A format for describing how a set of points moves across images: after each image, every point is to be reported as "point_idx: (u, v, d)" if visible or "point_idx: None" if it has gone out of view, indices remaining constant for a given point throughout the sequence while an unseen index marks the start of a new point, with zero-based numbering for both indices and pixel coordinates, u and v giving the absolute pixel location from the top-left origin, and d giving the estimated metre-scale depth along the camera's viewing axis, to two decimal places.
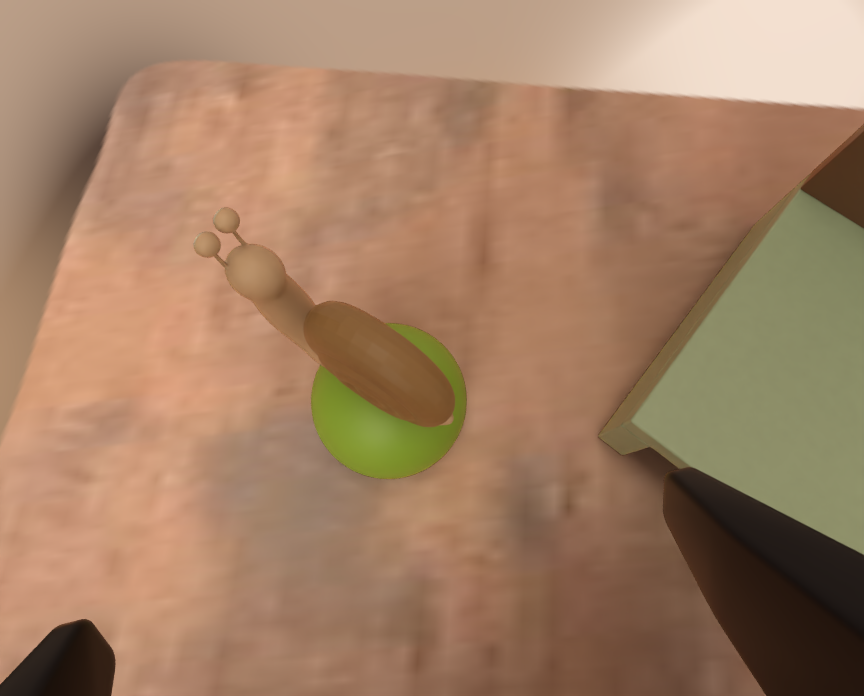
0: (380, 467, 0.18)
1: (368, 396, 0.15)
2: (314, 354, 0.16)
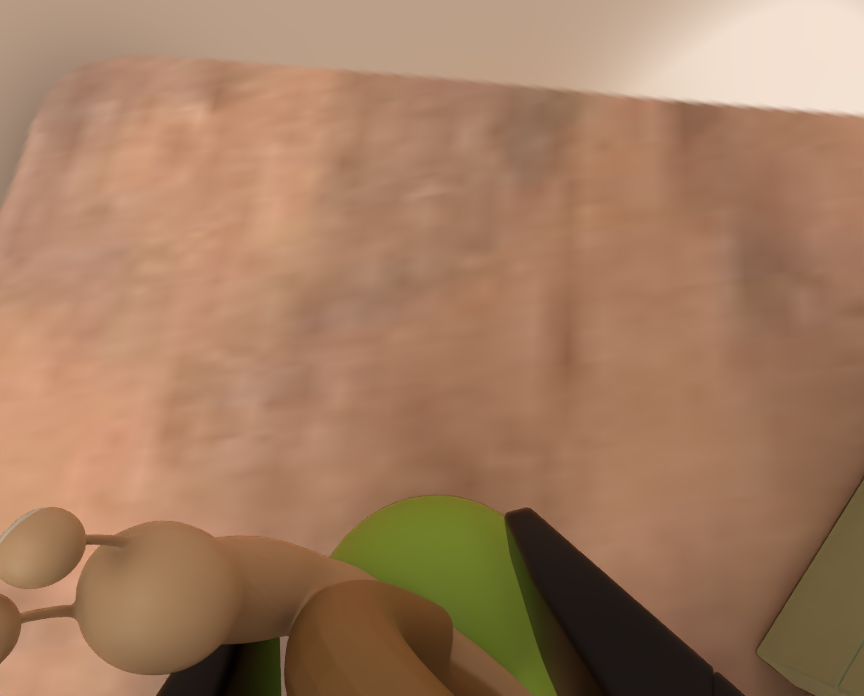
0: None
1: None
2: None
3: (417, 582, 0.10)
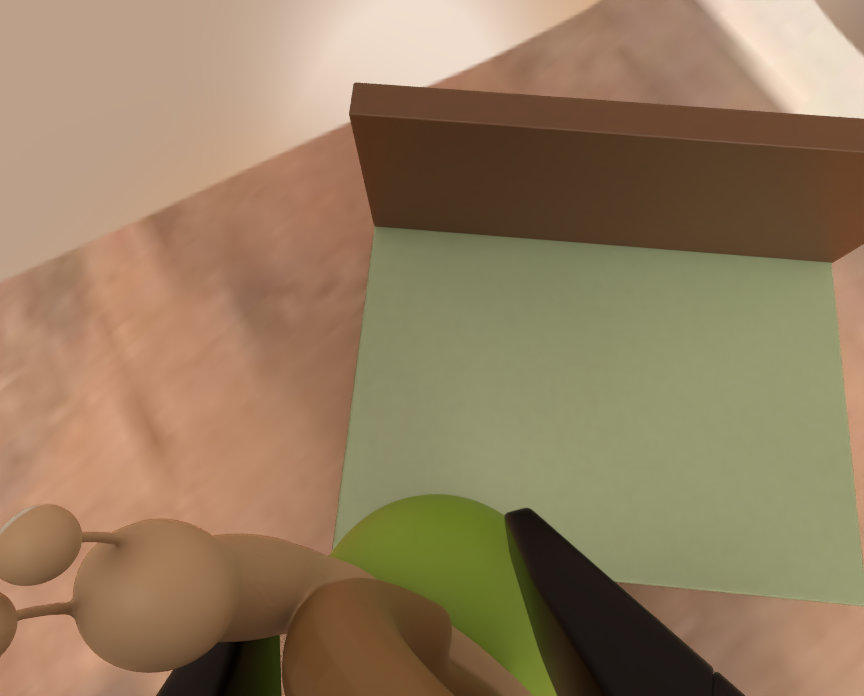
0: None
1: None
2: None
3: (416, 580, 0.10)
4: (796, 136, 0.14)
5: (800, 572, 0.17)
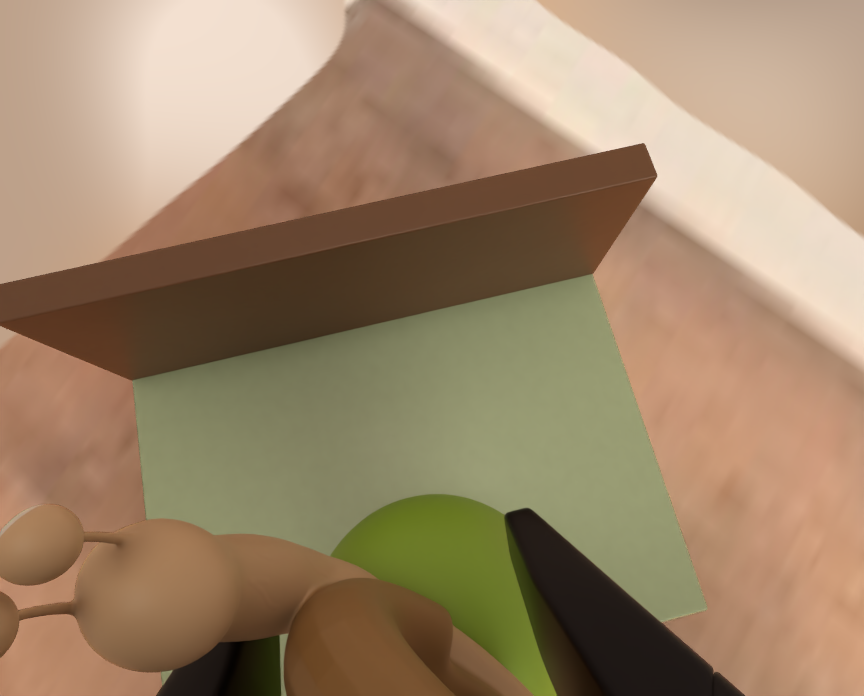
0: None
1: None
2: None
3: (417, 580, 0.10)
4: (463, 207, 0.14)
5: (638, 598, 0.17)
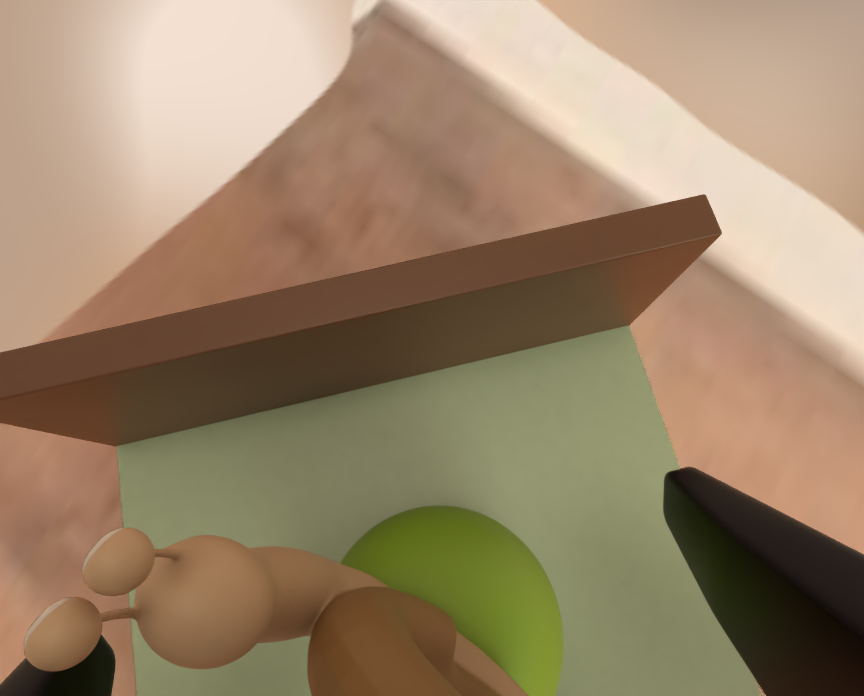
0: None
1: None
2: None
3: (423, 588, 0.11)
4: (496, 270, 0.12)
5: None
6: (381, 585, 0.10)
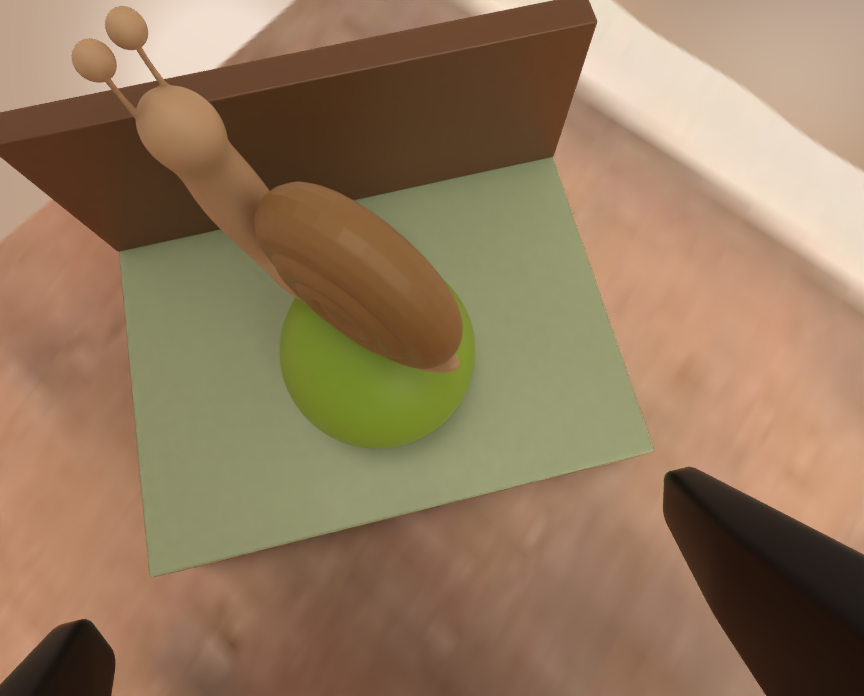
0: (362, 430, 0.14)
1: (343, 324, 0.11)
2: (276, 273, 0.12)
3: None
4: (418, 48, 0.15)
5: (590, 441, 0.18)
6: None
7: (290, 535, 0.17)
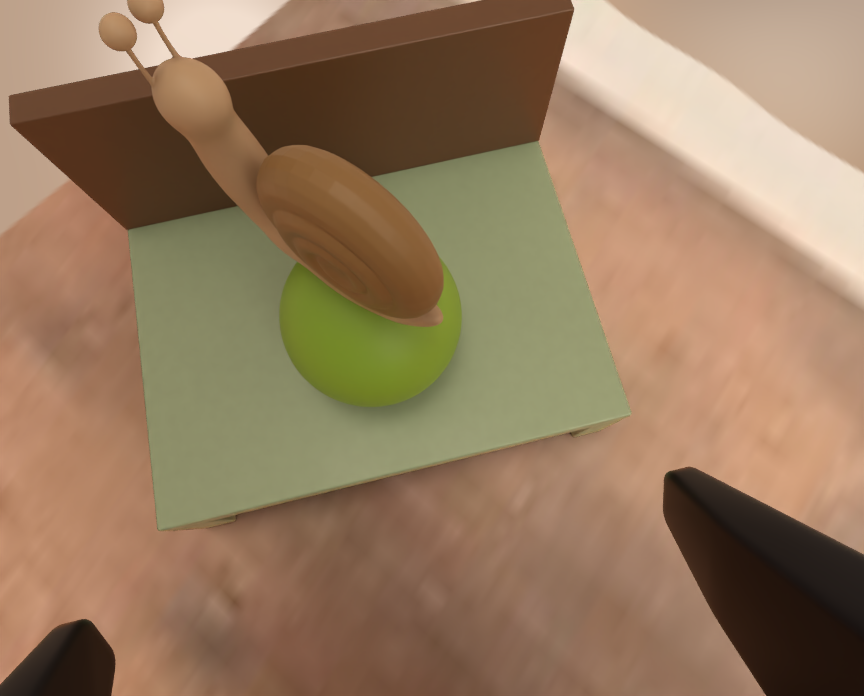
0: (356, 386, 0.15)
1: (337, 277, 0.12)
2: (276, 236, 0.13)
3: None
4: (408, 34, 0.16)
5: (571, 405, 0.19)
6: None
7: (289, 492, 0.18)
